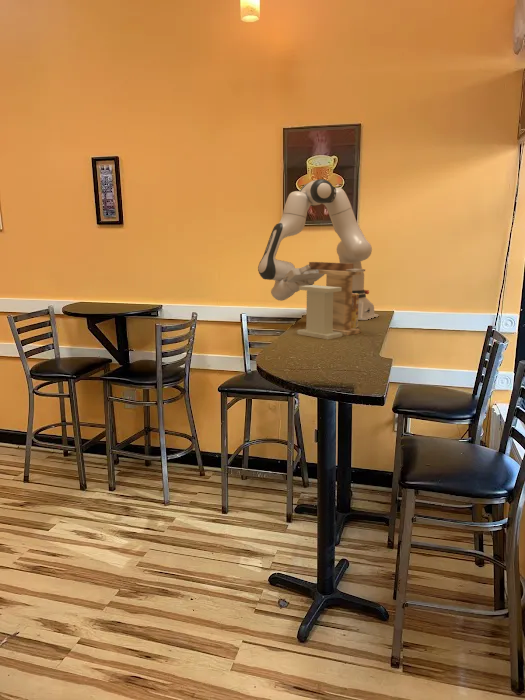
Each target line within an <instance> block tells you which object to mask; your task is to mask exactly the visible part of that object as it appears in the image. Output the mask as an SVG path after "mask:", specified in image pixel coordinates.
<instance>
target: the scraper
mask: <svg viewBox="0 0 525 700" xmlns="http://www.w3.org/2000/svg"><path fill="white" fill-rule="evenodd" d="M308 265H311V269H317V270H334V271H346V272H366V269H363V268H362V269H353V264H351V263H340V262H325V261H324V262H323V261H309V262H308Z"/></svg>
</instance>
